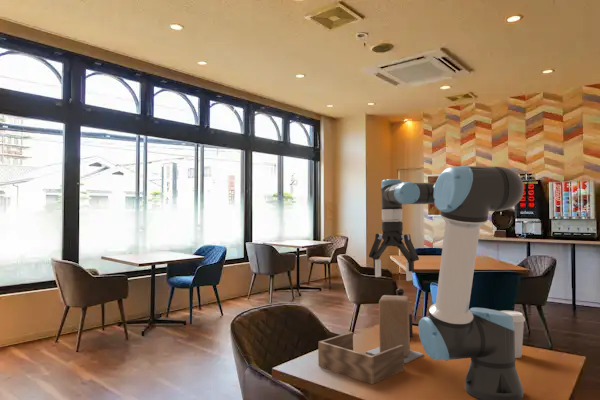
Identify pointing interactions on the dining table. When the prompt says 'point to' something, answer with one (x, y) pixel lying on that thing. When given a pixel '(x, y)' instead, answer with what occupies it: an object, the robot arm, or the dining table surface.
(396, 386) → the dining table surface
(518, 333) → the coffee cup
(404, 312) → the block
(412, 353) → the mat
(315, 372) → the dining table surface
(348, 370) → the bracket
